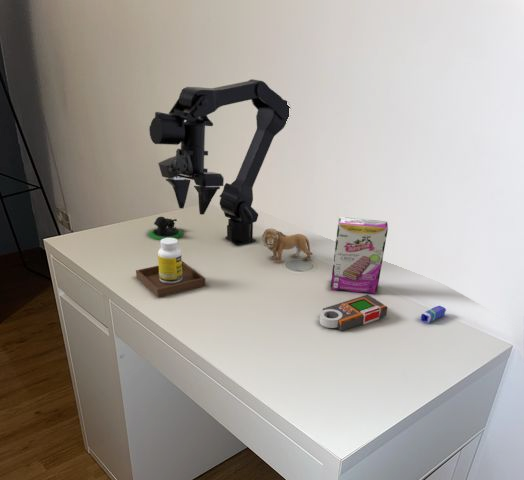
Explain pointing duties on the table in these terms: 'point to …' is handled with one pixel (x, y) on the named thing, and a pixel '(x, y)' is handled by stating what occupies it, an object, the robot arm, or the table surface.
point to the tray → (160, 289)
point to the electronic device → (352, 313)
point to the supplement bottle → (170, 261)
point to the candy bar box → (358, 254)
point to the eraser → (433, 314)
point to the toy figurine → (165, 229)
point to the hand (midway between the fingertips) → (191, 211)
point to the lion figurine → (285, 243)
